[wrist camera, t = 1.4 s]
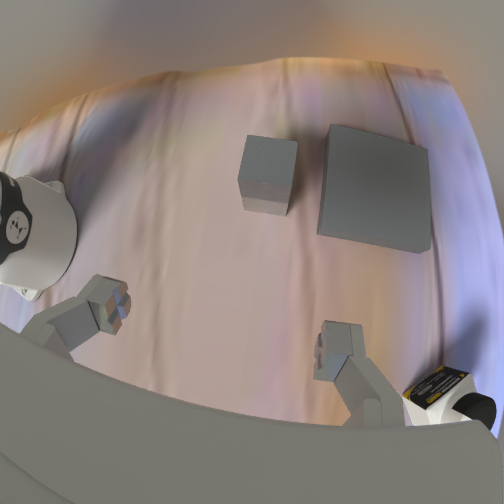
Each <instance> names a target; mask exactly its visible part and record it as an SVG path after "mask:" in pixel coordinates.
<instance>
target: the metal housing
mask: <svg viewBox="0 0 504 504" xmlns="http://www.w3.org/2000/svg"><path fill="white" fill-rule="evenodd" d="M297 146H298V142H295V141H289V140H282V139H276V138H269V137H261V136H253V135H247V139H246V143H245V148H244V152H243V157H242V161H241V166H240V170H239V175H238V184H239V188H240V193H241V197H242V202H243V207H244V210H247V211H254V212H260V213H266V214H273V215H279V216H286V212H287V207H288V203H289V198H290V193H291V189H292V182H293V175H294V168H295V161H296V154H297Z"/></svg>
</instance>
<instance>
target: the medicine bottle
mask: <svg viewBox="0 0 504 504" xmlns="http://www.w3.org/2000/svg"><path fill="white" fill-rule="evenodd" d="M402 398H403V400H404V403H405V405H406V408H407V411H408V413H409V416H410V419H411V421H412V424H413V426H421V425H433V424H444V423H453V422H460V421H467V420H479V421H481V422H482V423H483V424H484V425H485V426H486V427H487V428H488V429H489V430H491V428H492V427H493V424H494V422H495V418H496V404H495V401H494V400H493V399H492V398H490V397H488V396H485V395H482V394H479V393H477V392H476V388H475V384H474V380H473V376H472V374H471V373H467V372H463V371H460V370H456V369H453V368H449V367H446V366H440V367H439V368H438V369H437V370H435V371H434V372H433V373H431V374H430V375H429V376H427V377H426V378H425V379H423V380H422V381H421V382H419V383H418V384H417V385H415V386H414V387H412V388H411V389H410V390H408V391H407V392H405V393H404V394H403V395H402Z"/></svg>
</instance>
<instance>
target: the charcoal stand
mask: <svg viewBox="0 0 504 504" xmlns="http://www.w3.org/2000/svg"><path fill="white" fill-rule="evenodd" d="M317 234H319V235H324V236H330V237H335V238H341V239H346V240H352V241H357V242H363V243H368V244H373V245H378V246H383V247H389V248H394V249H399V250H404V251H409V252H414V253H422V252H424V251H427V250H430V243H431V199H430V178H429V164H428V153H427V149H424V148H421V147H418V146H415V145H412V144H408V143H405V142H402V141H398V140H395V139H391V138H388V137H384V136H381V135H377V134H373V133H369V132H365V131H361V130H357V129H352V128H348V127H343V126H339V125H334V124H331V125H330V128H329V131H328V134H327V140H326V152H325V164H324V174H323V184H322V194H321V203H320V212H319V220H318V228H317Z"/></svg>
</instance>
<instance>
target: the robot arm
mask: <svg viewBox="0 0 504 504" xmlns="http://www.w3.org/2000/svg"><path fill="white" fill-rule="evenodd" d="M76 238H77V223H76V217H75V214H74V211H73V208H72V207H71V205H70V203H69V202H68V201H67V199H66V196H65V189H64V185H63V183H62V182H60V181H58V180H56V181H51V182H46V183H42V182H40V181H38V180H37V179H35V178H33V177H31V176H28V175H25V176H24V177H19V178H16V179H13V178H11V177H10V176H9V175H8V174H6V173H4V172H0V284H2V285H6V286H11V287H12V288H13V289H15V290H16V291H17V292H18V293H19V294H20V295H22V296H23V297H24V298H25V299H27V300H28V301H31V302H34V301H36V300H37V299H38V297H39V296H40V295H41V293H42V292H43V290H44V289H46V288H47V287H49V286H51V285H53V284H54V283H55V282H57V281H58V280H59V279H60V278H61V276H62V275H63V274H64V272H65V271H66V269H67V267H68V266H69V263H70V261H71V259H72V256H73V253H74V249H75V245H76ZM127 290H128V286H127V283H126V282H124V281H120V280H117V279H113V278H110V277H105V276H102V275H98V274H96V275H94V276H93V277H92V278H91V280H90V281H89V282H88V283H87V284H86V286H85V287H84V288H83V289H82V290H81V292H80V293H79V294H78V295H77V297H71V298H69V299H67V300H65V301H63V302H61V303H59V304H57V305H55V306H52V307H50V308H48V309H46V310H44V311H42V312H40V313H38V314H36V315H34V316H33V317H32V318H31V320H30V321H29V322H28V323H27V325H26V326H25V327H24V329H23V330H22V331H21V333H20V334H19V333H17V332H15V331H13V330H12V329H10V328H8V327H7V326H5V325H3V324H2V323H0V504H503V466H502V455H501V449H500V445H499V442H498V440H497V439H496V438H495V436H494V435H493V434H492V433H491V432H490V430H489V429H488V428H487V427H486V426H485V425H484V424H483V423H482V422H481V421H479V420H467V421H460V422H453V423H444V424H433V425H421V426H405V419H404V409H403V401H402V398H401V397H400V395H399V394H398V393H397V392H396V390H395V389H394V388H393V387H392V385H391V384H390V383H389V382H388V380H387V379H386V378H385V376H384V375H383V374H382V373H381V372H380V370H379V369H378V368H377V367H376V365H375V364H374V363H373V362H372V360H371V359H370V358H366V351H365V343H364V335H363V327H362V325H360V324H352V323H344V322H336V321H328V320H324V322H323V324H322V326H321V333H319V334H318V337H317V340H316V344H315V351H314V357H315V358H316V362H315V364H314V375H313V379H315V380H322V381H330V382H334V385H335V386H336V388H337V390H338V392H339V394H340V395H341V397H342V399H343V401H344V402H345V404H346V406H347V408H348V410H349V411H350V413H351V416H350V417H349V419H348V420H347V421H346V422H345V423H344V424H343V425H342V426H332V425H319V424H308V423H298V422H290V421H282V420H275V419H268V418H261V417H255V416H250V415H244V414H239V413H234V412H229V411H224V410H220V409H215V408H211V407H206V406H202V405H198V404H194V403H190V402H187V401H183V400H179V399H176V398H172V397H169V396H165V395H162V394H159V393H155V392H152V391H149V390H146V389H143V388H140V387H137V386H134V385H131V384H128V383H126V382H123V381H120V380H117V379H115V378H112V377H110V376H107V375H104V374H102V373H99V372H97V371H95V370H92V369H90V368H87V367H85V366H83V365H80V364H78V363H76V362H74V359H73V358H72V356H71V354H70V353H69V352H70V351H72V350H73V349H75V348H76V347H78V346H79V345H81V344H82V343H84V342H85V341H87V340H88V339H89V338H91V337H92V336H94V335H95V334H97V333H98V332H99V331H102V332H106V333H109V334H112V335H116V334H117V332H118V330H119V329H120V327H121V325H122V321H121V320H122V319H124V318H126V317H127V316H128V314H129V312H130V308H131V298H130V296H129V295H128V293H127V292H126V291H127Z"/></svg>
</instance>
